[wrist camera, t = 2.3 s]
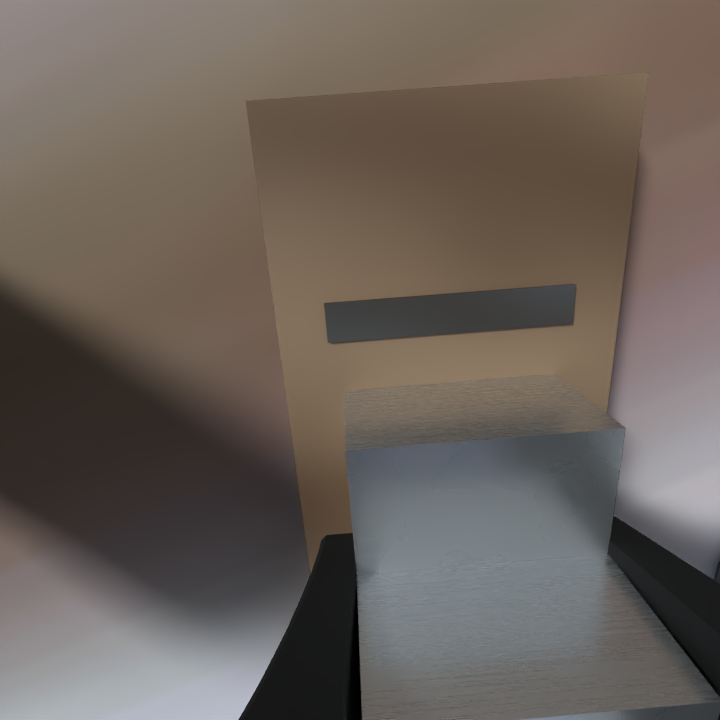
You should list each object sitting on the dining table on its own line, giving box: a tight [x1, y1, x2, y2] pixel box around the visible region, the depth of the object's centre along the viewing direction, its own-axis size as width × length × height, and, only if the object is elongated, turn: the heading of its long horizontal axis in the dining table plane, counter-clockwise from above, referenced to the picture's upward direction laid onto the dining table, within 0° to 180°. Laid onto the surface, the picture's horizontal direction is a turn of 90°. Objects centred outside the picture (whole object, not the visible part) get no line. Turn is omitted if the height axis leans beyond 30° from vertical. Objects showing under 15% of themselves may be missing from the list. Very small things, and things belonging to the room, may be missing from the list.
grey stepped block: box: [345, 374, 720, 720], centre depth 8 cm, size 7×4×5 cm, turn 4°
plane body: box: [246, 72, 649, 574], centre depth 11 cm, size 18×7×2 cm, turn 4°
